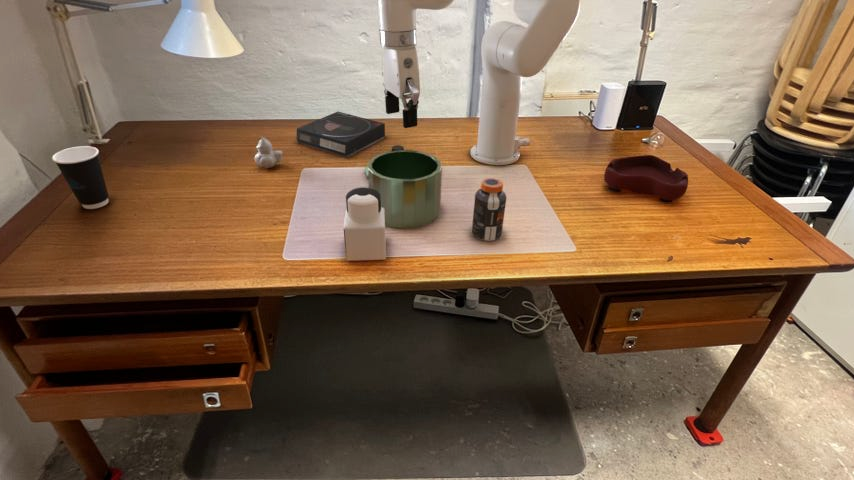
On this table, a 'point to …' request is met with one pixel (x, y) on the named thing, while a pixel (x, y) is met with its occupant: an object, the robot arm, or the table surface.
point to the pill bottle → (489, 210)
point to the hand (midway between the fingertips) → (401, 119)
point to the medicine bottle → (364, 225)
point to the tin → (407, 187)
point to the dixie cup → (83, 175)
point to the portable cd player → (341, 133)
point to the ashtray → (646, 177)
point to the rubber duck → (267, 154)
